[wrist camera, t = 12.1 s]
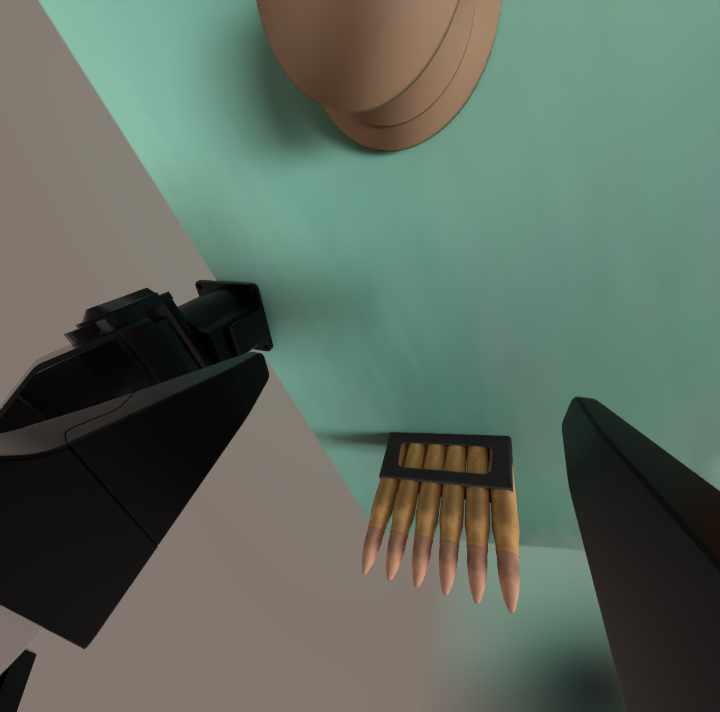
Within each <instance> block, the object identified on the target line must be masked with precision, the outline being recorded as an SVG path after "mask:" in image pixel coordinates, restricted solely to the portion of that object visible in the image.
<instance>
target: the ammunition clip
mask: <svg viewBox="0 0 720 712" xmlns="http://www.w3.org/2000/svg"><path fill="white" fill-rule="evenodd" d="M425 457H426V458H425ZM445 458H446V461H445ZM466 460H467V473H466ZM424 462H425V464H424ZM444 466H445V470H444ZM423 467H424V469H423ZM489 467H490V472H489ZM379 477H380V478H381V479H380V482H379V485H378V489H377V492H376V495H375V499H374V502H373V505H372V509H371V518H370V522H369V526H368V531H367V535H366V538H365V543H364V548H363V556H362V572H363V574H366V573H367V572H368V570H369V569H370V568H371V566H372V564H373V562H374V560H375V558H376V556H377V553H378V551H379V548H380V545H381V542H382V538H383V535H384V533H385V529H386V526H387V523H388V521H389V519H390V517H391V514H392V511H393V519H392V526H391V532H390V533H391V534H390V538H389V543H388V549H387V559H386V571H387V579H388V580H389V581H391V580H392V578H393V577H394V576H395V574H396V572H397V570H398V567H399V565H400V563H401V560H402V557H403V553H404V550H405V545H406V540H407V538H408V534H409V530H410V527H411V524H412V522H413V519H414V515H415V509H416V504H417V499H418V504H417V510H416V528H415V536H414V537H415V539H414V546H413V558H412V571H413V581H414V586H415V587H416V588H418V587H419V586H420V584H421V583H422V581H423V579H424V576H425V573H426V570H427V567H428V563H429V559H430V554H431V547H432V543H433V537H434V532H435V529H436V526H437V523H438V516H439V507H440V499H441V497H442V499H441V508H440V520H439V522H440V550H439V574H440V581H441V588H442V591H443V594H444V595H445V596H447V595H448V593H449V592H450V590H451V587H452V584H453V581H454V578H455V573H456V568H457V561H458V549H459V541H460V535H461V532H462V527H463V514H464V499H465V500H466V503H465V529H466V535H467V566H468V577H469V584H470V589H471V593H472V596H473V599H474V602H475V603H476V604H479V603H480V601H481V598H482V596H483V592H484V588H485V583H486V575H487V553H488V538H489V533H490V503H491V514H492V530H493V535H494V539H495V545H496V554H497V565H498V574H499V581H500V585H501V589H502V593H503V597H504V600H505V603H506V606H507V608H508V610H509V612H510V613H514V611H515V608H516V606H517V602H518V595H519V582H520V580H519V579H520V577H519V575H520V574H519V560H518V559H519V550H518V543H519V523H518V513H517V504H516V494H515V485H514V475H513V459H512V443H511V438H510V437H509V436H490V435H459V434H429V433H398V432H391V433H390V437H389V441H388V444H387V448H386V452H385V456H384V460H383V463H382V467H381V471H380V475H379ZM442 483H443V484H442ZM465 486H466V487H465ZM397 491H398V492H397ZM418 494H419V498H418ZM396 495H397V496H396ZM395 499H396V500H395ZM394 503H395V504H394ZM393 507H394V509H393Z"/></svg>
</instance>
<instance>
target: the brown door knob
mask: <svg viewBox="0 0 720 712" xmlns="http://www.w3.org/2000/svg"><path fill="white" fill-rule="evenodd" d="M256 1H257V6H258V11H259V14H260V18H261V21H262V25H263V28H264V31H265V33H266V36H267V39H268V41H269V44H270V46H271V48H272V50H273V52H274V54H275V57H276V59H277V60H278V62H279V64H280V65H281V67H282V69H283V70H284V72H285V73H286V75H287V76H288V77H289V78H290V80H291V81H292V82H293V83H294V85H295V86H296V87H297V88H298V89H299V90H301V91H302V92H303V93H304V94H305V95H306V96H308V97H309V98H310V99H312V100H313V101H315V102H317V103H319V104H321V105H322V106H323V108H324V110H325V111H326V113H327V115H328V116H329V117H330V119H331V120H332V121H333V123H334V124H335V125H336V126H337V127H338V128H339V129H340V130H341V131H342V132H343V133H344V134H345V135H347V136H348V137H349V138H351V139H352V140H353V141H355V142H357V143H359V144H361V145H364V146H366V147H369V148H373V149H379V150H386V151H397V150H403V149H408V148H411V147H414V146H417V145H419V144H421V143H423V142H425V141H427V140H429V139H430V138H432V137H433V136H435V135H436V134H438V133H439V132H440V131H441V130H442V129H444V128H445V127H446V126H447V125H448V124H449V123H450V122H451V121H452V120H453V119H454V118H455V117H456V115H457V114H458V113H459V112H460V111H461V109H462V108H463V107H464V105H465V104H466V103H467V101H468V100H469V98H470V96H471V95H472V93H473V91H474V90H475V88H476V86H477V84H478V82H479V80H480V78H481V76H482V74H483V72H484V70H485V67H486V64H487V62H488V59H489V56H490V54H491V50H492V47H493V43H494V40H495V36H496V31H497V26H498V21H499V15H500V8H501V0H256Z"/></svg>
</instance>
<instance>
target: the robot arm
mask: <svg viewBox="0 0 720 712" xmlns="http://www.w3.org/2000/svg"><path fill="white" fill-rule="evenodd" d="M195 285H196V288H197V291H198V294H199V296H200V297H198V298H195V299H193V300H191V301H189V302H187V303H185V304H183V305H181V306H178V307H177V306H176V305H175V303H174V301H173V300H172V299H173V297H172V296H171V294H170V293H169V292H166V293H163V294H161V295H158V293H155V292H153V291H151V290H150V289H148V288H145V289H142V290H140V291H137V292H134V293H132V294H129V295H126V296H123V297H121V298H118V299H115V300H112V301H109V302H106V303H103V304H101V305H98V306H95V307H92V308H90V309H87V310H86V312H85V315H84V318H83V321H82V322H81V323H79V324H77V325H76V327H77V328H76V329H74V330H71V331H69V332H67V333H65V334H64V336H65V337H66V338H67V339H68V340H69V341H70V342H71V345H68V346H66V347H64V348H61V349H59V350H57V351H54V352H52V353H50V354H47V355H45V356H43V357H41V358H39V359H37V360H36V361H35V362H34V363H33V364H32V366H31V367H30V368H29V369H28V371H27V372H26V373H25V375H24V376H23V377H22V379H21V380H20V381H19V382H18V384H17V385H16V386H15V388H14V389H13V390H12V391H11V393H10V394H9V395H8V396H7V398H6V399H5V400H4V401H3V403H2V404H1V405H0V712H17V709H18V706H19V703H20V701H21V698H22V695H23V692H24V689H25V686H26V683H27V680H28V677H29V675H30V672H31V669H32V666H33V663H34V660H35V657H36V654H35V653H34V652H33V651H31V650H30V649H29V648H27V647H28V646H29V645H30V644H31V642H32V641H33V640H34V639H35V638H36V637H37V636H38V635H39V634H40V633H41V632H42V631H43V630H44V629H47V630H49V631H50V632H53V633H54V634H57V635H58V636H60V637H62V638H64V639H66V640H68V641H70V642H72V643H73V644H75V645H77V646H79V647H81V648H83V649H85V648H87V647H88V645H89V644H90V643H91V642H92V640H93V639H94V638H95V636H96V635H97V633H98V632H99V631H100V629H101V628H102V626H103V625H104V623H105V622H106V621H107V619H108V618H109V616H110V615H111V613H112V612H113V610H114V609H115V608H116V606H117V605H118V603H119V602H120V600H121V599H122V597H123V596H124V594H125V593H126V592H127V590H128V589H129V587H130V586H131V584H132V583H133V582H134V580H135V579H136V577H137V576H138V574H139V573H140V571H141V570H142V568H143V567H144V566H145V564H146V563H147V561H148V560H149V558H150V557H151V556H152V554H153V553H154V551H155V550H156V548H157V547H158V545H159V544H160V542H161V541H162V539H163V538H164V536H165V535H166V534H167V532H168V530H169V529H170V528H171V526H172V525H173V523H174V522H175V520H176V519H177V517H178V516H179V515H180V513H181V512H182V510H183V509H184V508H185V506H186V505H187V503H188V502H189V500H190V499H191V497H192V496H193V494H194V493H195V492H196V490H197V489H198V487H199V486H200V484H201V483H202V482H203V480H204V478H205V477H206V476H207V474H208V473H209V471H210V470H211V469H212V467H213V466H214V464H215V463H216V461H217V460H218V458H219V457H220V456H221V454H222V453H223V451H224V450H225V448H226V447H227V445H228V444H229V443H230V441H231V440H232V438H233V437H234V435H235V434H236V432H237V431H238V430H239V428H240V427H241V425H242V424H243V422H244V421H245V419H246V418H247V416H248V415H249V413H250V411H251V410H252V408H253V406H254V404H255V402H256V400H257V399H258V397H259V395H260V393H261V392H262V390H263V388H264V386H265V384H266V383H267V381H268V378H269V371H268V368H267V365H266V361H265V358H264V356H263V354H261V353H256V352H249V351H251V350H252V349H256V350H262V351H270V350H271V349H272V348H273V344H272V340H271V336H270V332H269V328H268V324H267V320H266V316H265V312H264V308H263V304H262V300H261V296H260V292H259V289H258V287H257V285H255V284H254V283H242V282H226V281H210V280H199V281H197V282H196V284H195ZM251 288H252V289H253V291H252V289H251ZM248 352H249V353H248ZM562 435H563V443H564V451H565V459H566V468H567V476H568V483H569V489H570V493H571V497H572V501H573V505H574V509H575V513H576V517H577V521H578V525H579V529H580V532H581V536H582V540H583V544H584V548H585V552H586V556H587V559H588V564H589V567H590V571H591V575H592V579H593V583H594V587H595V591H596V595H597V599H598V603H599V606H600V610H601V614H602V618H603V622H604V626H605V629H606V634H607V638H608V641H609V645H610V649H611V653H612V657H613V661H614V664H615V669H616V673H617V677H618V680H619V684H620V688H621V692H622V696H623V699H624V704H625V708H626V712H720V491H719V490H718V489H716V488H715V487H714V486H712V485H711V484H710V483H708V482H707V481H705V480H704V479H703V478H701V477H700V476H699V475H697V474H696V473H695V472H693V471H692V470H691V469H689V468H688V467H687V466H685V465H684V464H683V463H681V462H680V461H678V460H677V459H676V458H674V457H673V456H672V455H670V454H669V453H668V452H666V451H665V450H664V449H662V448H661V447H660V446H658V445H657V444H655V443H654V442H653V441H651V440H650V439H649V438H647V437H646V436H645V435H643V434H642V433H641V432H639V431H638V430H637V429H635V428H634V427H632V426H631V425H630V424H628V423H627V422H626V421H624V420H623V419H622V418H620V417H619V416H618V415H616V414H615V413H614V412H612V411H611V410H609V409H608V408H607V407H605V406H604V405H603V404H601V403H600V402H599V401H597V400H595V399H592V398H584V397H575V398H573V399H572V401H571V403H570V405H569V408H568V410H567V412H566V415H565V417H564V419H563V423H562Z"/></svg>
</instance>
